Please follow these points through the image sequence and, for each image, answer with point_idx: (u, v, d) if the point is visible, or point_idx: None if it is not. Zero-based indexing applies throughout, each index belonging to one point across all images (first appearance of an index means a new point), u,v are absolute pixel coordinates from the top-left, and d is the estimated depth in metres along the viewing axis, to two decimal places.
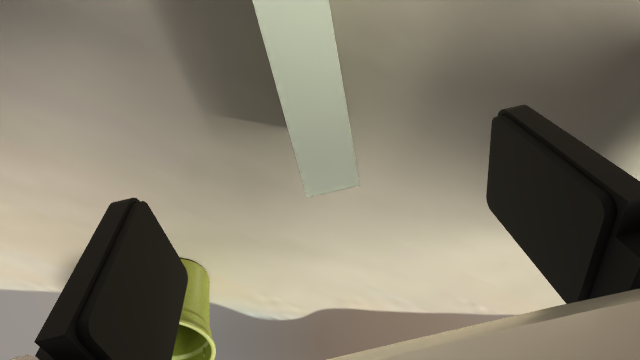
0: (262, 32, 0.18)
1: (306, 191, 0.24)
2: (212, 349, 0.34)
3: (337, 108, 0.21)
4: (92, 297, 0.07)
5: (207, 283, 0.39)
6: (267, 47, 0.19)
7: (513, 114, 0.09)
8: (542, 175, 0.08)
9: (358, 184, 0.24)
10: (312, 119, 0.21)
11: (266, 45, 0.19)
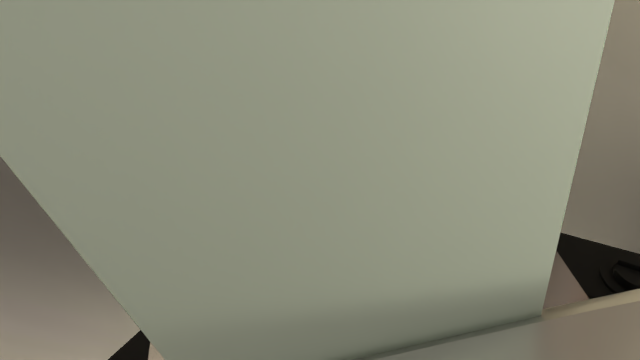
0: None
1: None
2: None
3: None
4: None
5: None
6: None
7: None
8: None
9: None
10: None
11: None
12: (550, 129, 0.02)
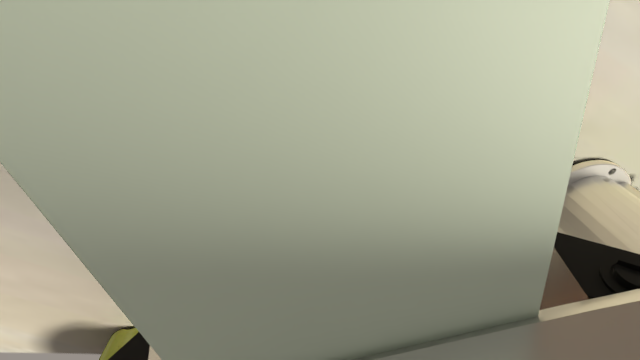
0: None
1: None
2: None
3: None
4: None
5: None
6: None
7: None
8: None
9: None
10: None
11: None
12: (545, 129, 0.02)
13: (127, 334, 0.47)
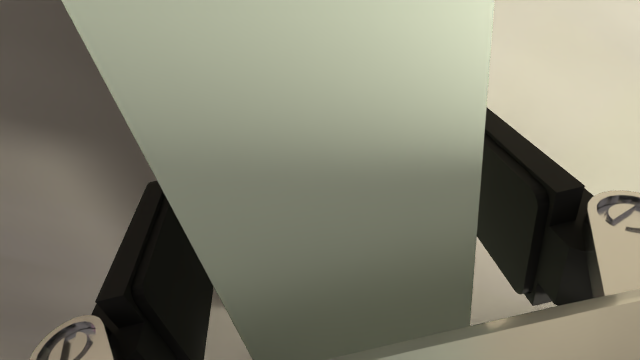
0: (226, 300, 0.05)
1: None
2: None
3: None
4: (143, 264, 0.07)
5: None
6: (246, 331, 0.05)
7: None
8: (491, 170, 0.08)
9: None
10: None
11: (242, 329, 0.05)
12: (463, 70, 0.04)
13: None
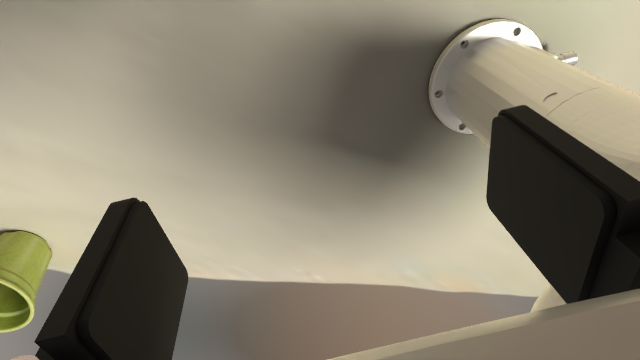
0: None
1: None
2: (28, 303, 0.40)
3: None
4: (92, 297, 0.07)
5: (44, 252, 0.45)
6: None
7: (513, 114, 0.09)
8: (542, 175, 0.08)
9: None
10: None
11: None
12: None
13: (8, 236, 0.44)
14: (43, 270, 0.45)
